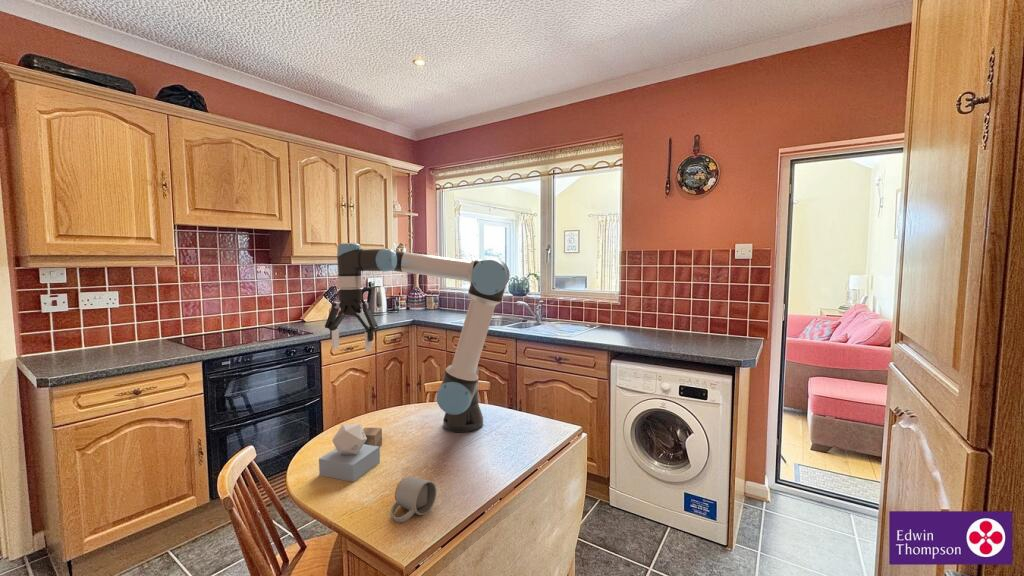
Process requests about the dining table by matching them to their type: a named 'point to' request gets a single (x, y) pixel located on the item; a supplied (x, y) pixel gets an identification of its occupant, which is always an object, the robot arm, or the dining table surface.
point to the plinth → (349, 463)
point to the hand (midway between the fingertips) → (352, 349)
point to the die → (349, 439)
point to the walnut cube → (373, 436)
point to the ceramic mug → (414, 497)
